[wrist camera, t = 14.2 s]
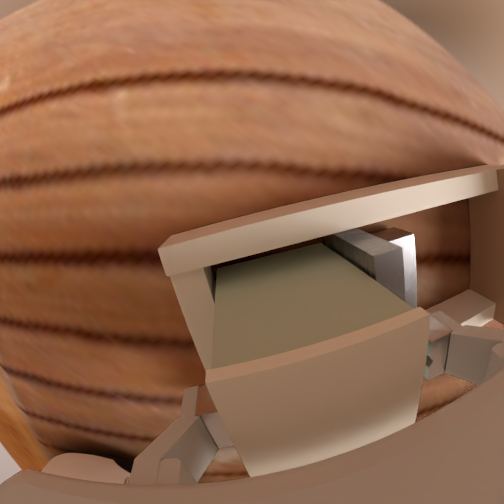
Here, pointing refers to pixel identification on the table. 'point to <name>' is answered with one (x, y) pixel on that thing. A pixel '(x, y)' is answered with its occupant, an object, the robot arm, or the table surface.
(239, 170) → the table surface
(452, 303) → the frame
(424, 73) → the table surface
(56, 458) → the milk container
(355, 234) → the block
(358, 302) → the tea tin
